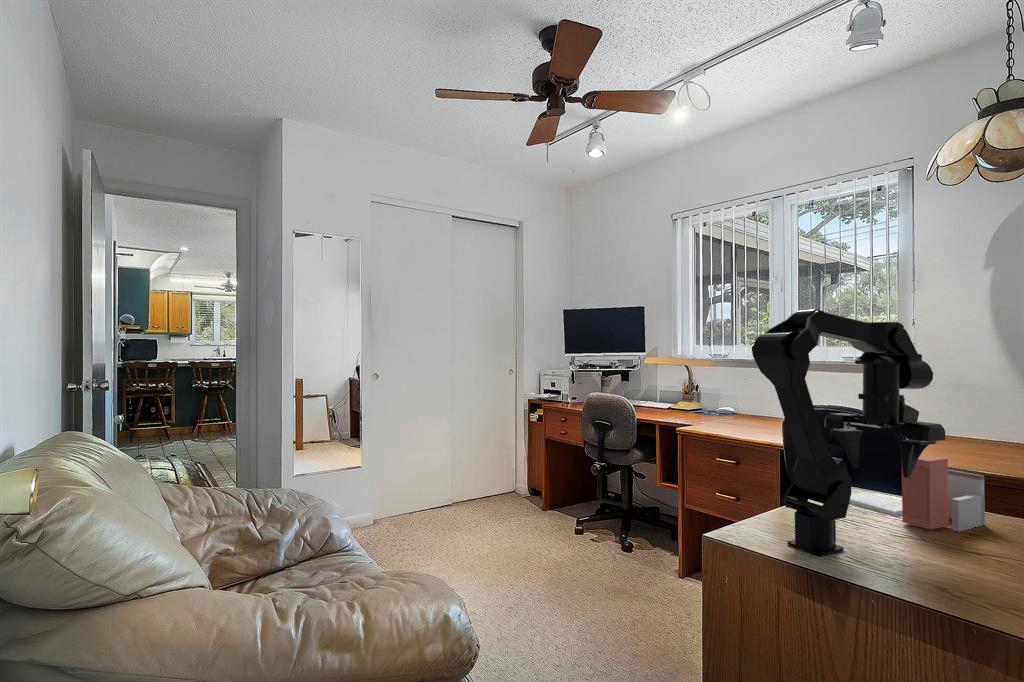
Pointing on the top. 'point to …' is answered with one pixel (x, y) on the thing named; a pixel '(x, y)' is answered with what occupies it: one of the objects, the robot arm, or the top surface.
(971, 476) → the socket block
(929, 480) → the pink rectangular block
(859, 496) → the external hard drive
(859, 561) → the top surface
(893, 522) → the top surface
